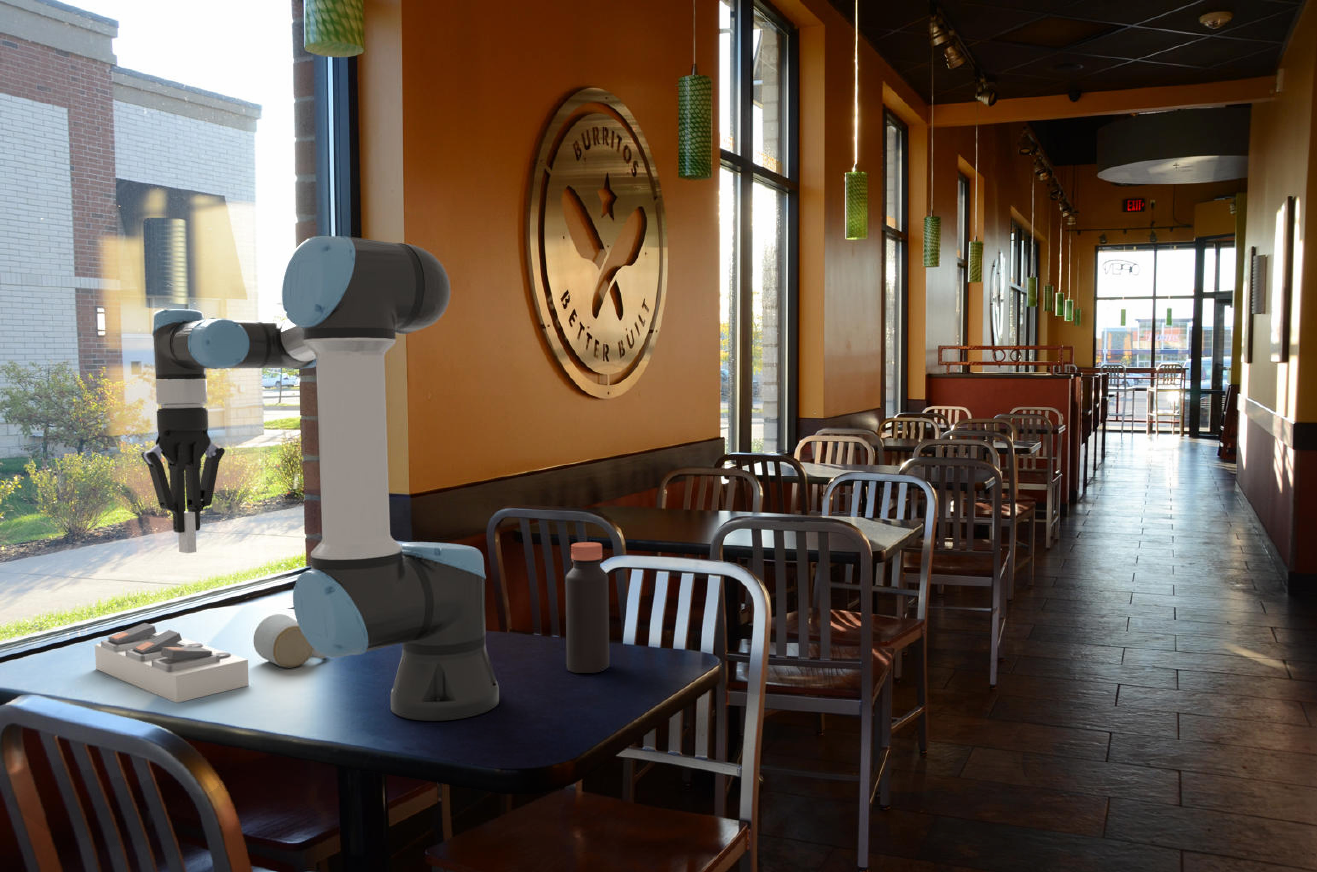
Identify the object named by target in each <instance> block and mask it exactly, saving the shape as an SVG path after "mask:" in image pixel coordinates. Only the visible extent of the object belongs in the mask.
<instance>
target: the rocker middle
mask: <svg viewBox="0 0 1317 872" xmlns="http://www.w3.org/2000/svg"><path fill="white" fill-rule="evenodd" d="M163 632H164V633H162V634H160V635H158V636H156V637H154V638H152V639H150V640H148V641H146V642H144V643H142V644H140V645H138V646H136V647H134V648H132V649H133V651H134V652H137V653H139V654H142V655H144V654H149V653H154V652H159V651H162V647H169V646H171V645H173V644H175V643H177V642H179V641H181V640H182V639H181V638H182V637H181V634H180V632H177V631H174V630H172V629H171V630H170V629H168V630H166V631H163Z"/></svg>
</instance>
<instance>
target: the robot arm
mask: <svg viewBox="0 0 1317 872" xmlns="http://www.w3.org/2000/svg"><path fill="white" fill-rule="evenodd" d="M282 278H283V279H282V284H281V285H282V286H281V302H282V307H283V311H284V312H286V314H285V316H286V317H287V319H284V320H282V321H257V320H256V321H255V320H254V321H253V320H232V319H228V318H223V317H221V318H215V317H211V318H207V319H205V317H204V314H203V312H202V311H200V310H195V309H178V308H176V309H175V308H173V309H171V308H170V309H160V310H157V311H156V312H155V313H154V315H153V329H152V337H153V352H154V353H153V355H154V369H155V370H154V371H155V372H154V373H155V397H156V400H155V401H156V403H155V404H157V405H159V406H160V408H157V410H156V427H157V433H158V435H157V438H156V440H155V445H154V446H153V447H152V448H150V449H149V450H147V451H146V450H145V451H142V452H141V458H142V460H143V461H144V462H145V464H146V465H147V467H148V470H149V473H150V477H151V480H152V484H153V486H154V490H155V494H156V498H157V501H158V504H159V508H160V509H162V510H165V511H169V512H171V513H172V525H173V526H172V527H173V528H172V529H173V532H174V533H177V535H178V552H179V553H184V554H191V553H197V536H196V535H197V532H198V531H200V529H201V512H203V510H204V509H205V507H210V506H211V505H212V502H213V496H214V491H215V485H216V481H217V476H218V470H219V465H220V461H221V459H222V458H223V457H224V454H225V452H226V450H225V448H224V447H219V446H217V445H215V444H214V443H212V440H211V437H210V435H209V433H208V431H209V430H208V429H209V411H208V409H207V407H204V405H205V404H207V403H208V402H209V400H208V384H207V382H208V381H207V369H213V370H218V369H220V370H225V369H293V370H302V369H312V368H315V367H316V369H315V370H316V391H317V392H316V393H317V394H316V395H317V419H318V421H317V423H318V424H317V425H318V445H319V446H318V448H319V449H318V450H319V452H318V453H319V476H320V477H319V480H320V483H319V484H320V508H321V509H320V510H321V537H322V538H321V541H320V542H319V543H318V544H317V545H316V547H314V549H313V550H311V552H310V568H311V569H307V570H306V571H304V572H301V574H300V575H299V576H298V577H297V579H296V581H295V585H294V587H293V592H292V604H293V610H294V615H295V620H296V621H297V622H298V625H299V627H300V629H301V632H302V633H303V635H304V636H305V638H306V639H307V641H308V643H309V644H310V645H311V646H312V647H313V648H314V649H315V650H316V651H318V652H319V653H321V654H322V655H325V657H327V658H328V657H329V658H342V657H347V656H360V655H363V654H365V653H367V652H370V651H371V652H372V651H375V650H379V649H383V648H386V647H387V648H388V647H391V646H395V645H399V644H401V645H402V652H401V653H402V654H401V657H400V662H399V664H398V668H397V671H396V675H395V679H394V682H393V687H392V689H391V691H390V710H391V712H392V713H393V714H394V715H395V716H398V717H402V718H404V719H410V720H415V721H426V722H427V721H429V722H430V721H431V722H436V721H439V722H441V721H452V720H460V719H467V718H470V717H471V718H472V717H475V716H479V715H483V714H485V713H487V712H489V711H491V710H493V709H494V708H495V707H497V706H498V705H499V703H500V691H499V689H500V688H499V683H498V681H497V679H496V678H497V677H496V674H495V672H494V669H493V665H492V662H491V660H490V658H489V654H488V651H487V645H486V640H487V639H486V579H487V576H486V573H485V562H484V555H483V553H482V552H481V550H480V549H478V548H476V547H474V546H470V545H463V544H459V543H458V544H457V543H448V542H447V543H446V542H427V541H425V542H424V541H419V542H418V541H410V542H403V543H402V544H399V543H398V542H397V540H395V539H394V538H393V537H392V535H391V525H390V524H391V522H390V491H389V490H390V489H389V487H390V486H389V485H390V484H389V466H388V465H389V461H388V431H387V430H388V429H387V427H388V426H387V400H386V399H387V397H386V396H387V395H386V371H385V369H386V365H385V364H386V363H385V355H386V353H387V352H388V351H389V349H391V348H392V347H393V346H394V345H395V344H396V341H397V339H396V336H397V335H407V334H412V333H414V332H417V331H419V330H420V331H421V330H423V329H425V328H428V327H429V326H432V325H434V324H435V323H436V322H438V321H439V320H440V319H441V317H443V315H444V314H445V312H446V311H447V309H448V306H449V303H450V300H451V283H450V279H449V275H448V273H447V271H446V269H445V267H444V266H443V264H442V263H441V262H440V261H439V259H437V257H436V256H434V255H433V254H432V253H431V252H429V251H427V250H426V249H425V248H422V247H419V246H417V245H414V244H410V243H402V242H391V241H390V242H389V241H380V240H375V239H367V238H359V237H352V236H346V235H342V236H340V235H338V236H337V235H336V236H333V235H332V236H330V235H329V236H328V235H327V236H326V235H323V236H322V235H318V236H313V237H310V238H307V239H306V240H304V241H303V242H302V243H300V245H298V246H297V247H296V249H295V250H294V251H293V253H292V256H291V257H290V258H289V260H288V262H287V264H286V267H285V269H284V274H283V277H282ZM396 334H397V335H396ZM204 455H206V457H205V459H204V463H203V469H202V473H200V472H201V468H202V460H201V459H203V456H204ZM163 457H164V458H165V459H166V461H167V469H168V471H169V482H168V478H167V474H166V470H165V466H164V464H163V462H162V458H163ZM186 509H187V510H186ZM196 531H197V532H196Z"/></svg>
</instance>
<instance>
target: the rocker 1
mask: <svg viewBox="0 0 1317 872" xmlns="http://www.w3.org/2000/svg"><path fill="white" fill-rule="evenodd" d="M155 626H156V625H153V624H150V623H146V622H144V623H141V624H139V625H136V626H133V627H131V628H128V629H126V630H122V631H121V632H118V633H115V634H112V635H110V636H108V637H107V640H109V642H110V643H113V644H115V645H122V644H127V643H132V642H135V641H137V640H140V639H142V638H145V637H147V636H150V635H152V634H155V633H157V630H156V627H155Z"/></svg>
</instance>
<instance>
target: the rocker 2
mask: <svg viewBox="0 0 1317 872" xmlns="http://www.w3.org/2000/svg"><path fill="white" fill-rule="evenodd" d="M211 655H212V651H210V650H207V649H204V648H201V647H162V651H161V656H164V657H167V658H170V659H201V658H205V657H210V656H211Z"/></svg>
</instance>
